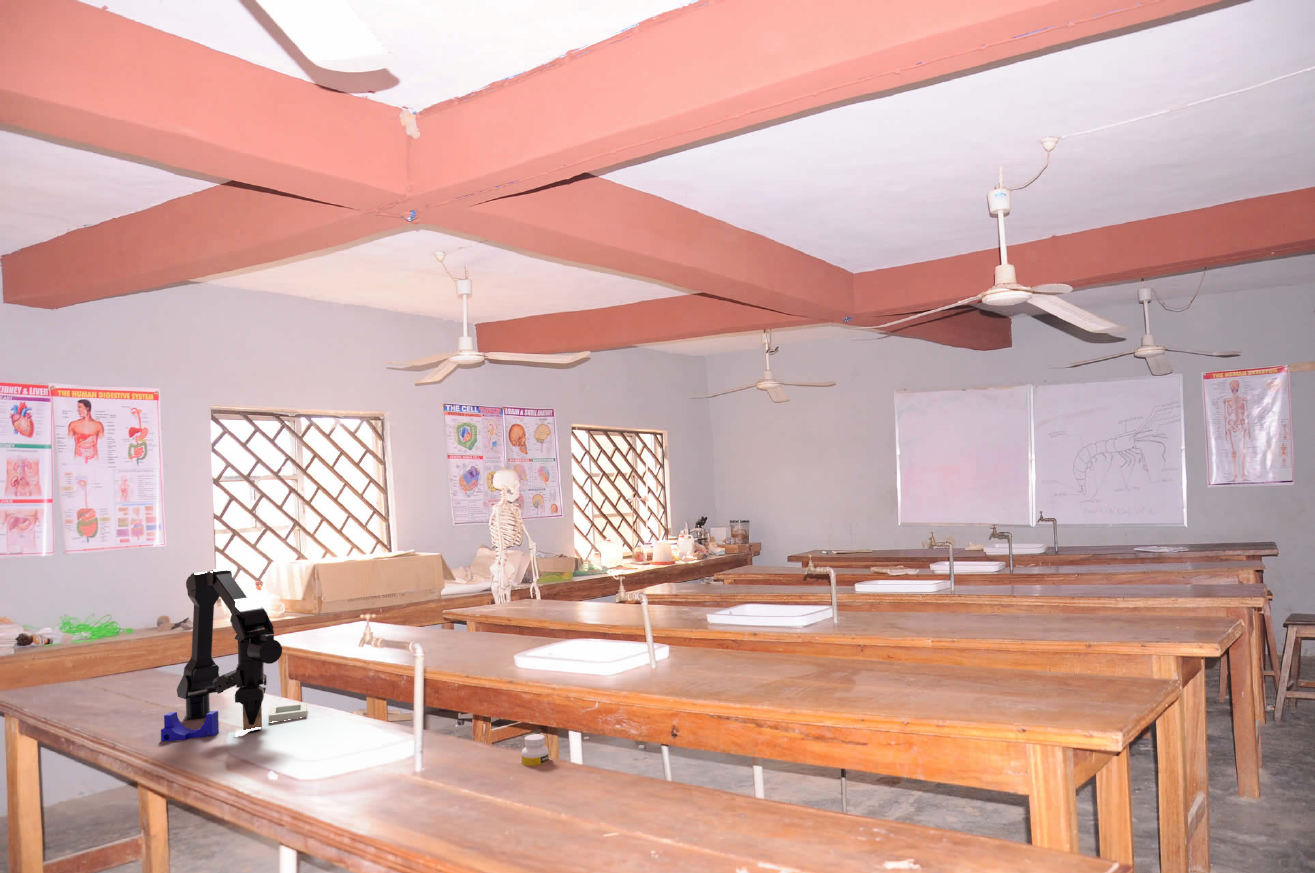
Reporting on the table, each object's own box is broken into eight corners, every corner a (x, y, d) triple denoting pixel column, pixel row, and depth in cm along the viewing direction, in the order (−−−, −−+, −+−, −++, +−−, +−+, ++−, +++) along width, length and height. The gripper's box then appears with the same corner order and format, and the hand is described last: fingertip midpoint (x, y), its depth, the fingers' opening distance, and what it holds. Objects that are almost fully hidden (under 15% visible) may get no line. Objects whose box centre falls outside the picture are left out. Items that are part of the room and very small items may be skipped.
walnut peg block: (244, 728, 225) (243, 699, 226) (262, 725, 227) (261, 697, 227) (243, 732, 222) (242, 703, 222) (261, 730, 223) (260, 701, 223)
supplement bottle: (544, 791, 178) (542, 741, 178) (518, 790, 179) (516, 740, 179) (553, 781, 183) (551, 733, 184) (527, 780, 185) (526, 732, 185)
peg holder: (270, 718, 238) (270, 706, 238) (307, 713, 241) (306, 702, 241) (268, 727, 230) (268, 715, 230) (306, 722, 233) (306, 710, 233)
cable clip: (161, 741, 221) (160, 716, 221) (171, 735, 226) (170, 711, 226) (209, 740, 221) (208, 715, 221) (218, 734, 225) (218, 710, 226)
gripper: (218, 655, 231) (220, 716, 230) (210, 670, 213) (212, 737, 213) (266, 650, 234) (267, 710, 234) (262, 664, 217) (263, 730, 217)
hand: (252, 721), depth 224 cm, fingers open, 4 cm apart
